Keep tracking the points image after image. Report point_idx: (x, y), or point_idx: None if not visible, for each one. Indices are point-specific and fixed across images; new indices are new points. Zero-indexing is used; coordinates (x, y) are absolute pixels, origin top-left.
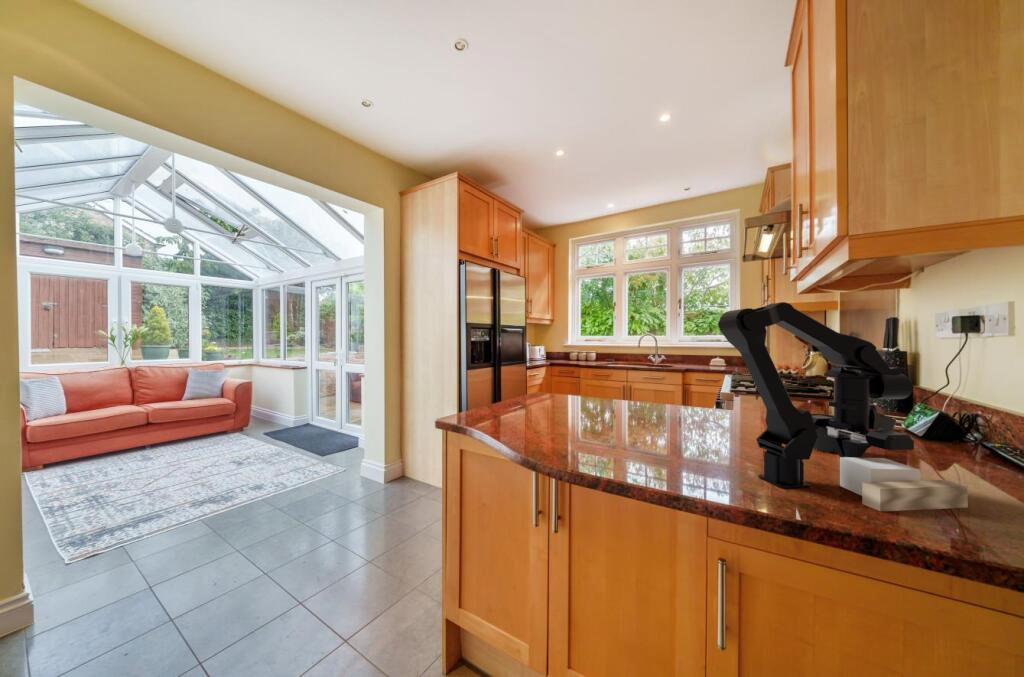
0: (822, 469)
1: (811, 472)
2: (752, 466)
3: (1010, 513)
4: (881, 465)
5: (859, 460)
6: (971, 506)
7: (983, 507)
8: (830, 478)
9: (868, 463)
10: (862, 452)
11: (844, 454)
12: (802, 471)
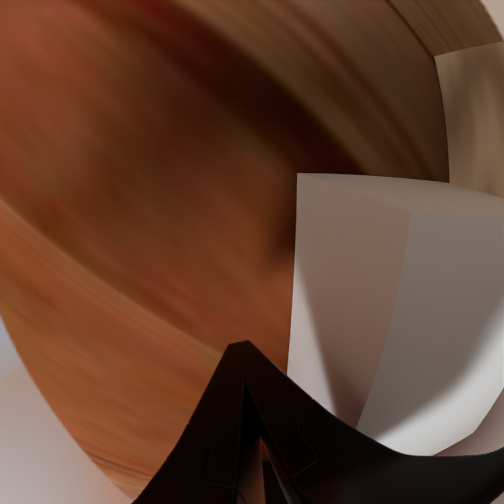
0: (44, 306)
1: (115, 385)
2: (124, 482)
3: (478, 2)
4: (485, 383)
5: (399, 447)
6: (462, 38)
7: (460, 12)
8: (187, 364)
9: (445, 425)
10: (348, 441)
11: (260, 473)
12: (282, 493)
